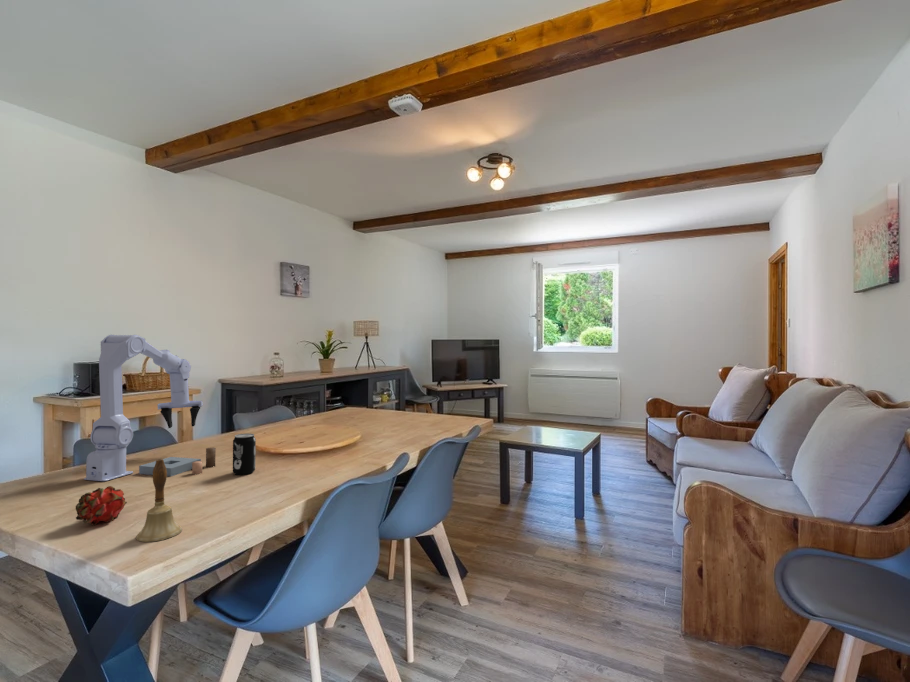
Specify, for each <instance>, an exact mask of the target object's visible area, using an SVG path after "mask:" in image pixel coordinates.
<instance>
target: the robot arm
mask: <svg viewBox="0 0 910 682" xmlns="http://www.w3.org/2000/svg"><path fill="white" fill-rule="evenodd" d="M140 354H142V355H143V356H145V357H148V358H150V359H152V362H153V363H154V364H155V365H156V366H159V367H160V368H161V369H164V370H165V372H166V374H168V375H169V386H170V402H169V401H168V402H163V403H162V402H160V403H158V404H157V410H160V411H159V412H160V415H162V417H163V418H164V420H165V422H166V424H167V428H168V429H172V427H173V419H172V417H173V415H172V410H173V409H182V408H189V412H190V419H191V420H190V421H191V423H190V424H191V427H195V426H196V420H197V417H198V414H199V411H200V409H201V407H203V406H204V402H203V400H190V391H189V378H190V372H191V369H192V365H191V363H190V361H188V360H187V359H186V358H180V357H179V356H178V355H177V354H176V355H175V354H173V353H171V351H170V349H158V348H157V347H155V346H153V345H152V344H150V343H149V342H148V341H146V338H145V337H142V336H140V334H108V335H106V337H104V338H103V339H102V340H101V341H100V355H99V357H98V369H99V370H98V371H99V373H98V375H99V395H100V396H99V398H100V401H99V402H100V417H99V418H98V419H96V420H95V421H94V422H93V423H92V429H91V432H90V441H91V443H92V445H94V448H95V451H91V452H89V453H88V455H87V456H86V460H85V461H86V463H85V464H86V466H85V467H86V468H85V469H86V470H85V476H86V477H83V480H86V481H96V482H107V481H110V480H113V479H118V478H120V477H125V476H127V475H130V474H131V475H132V474H133V473H134V471H133V470H131V471H130V470H127V447H128V446H129V444H130V443H132V440H133V438H134V431H133V428H132V427H131V420H129V419H128V418H127V416H125V415H124V405H123V404H124V403H123V402H124V401H123V400H124V398H123V397H124V396H123V379H122V378H123V373H122V368H123V367H122V365H123V364H124V363H126V362H127V361H128V360H131V359H132V358H134V357H136V356H137V355H140Z"/></svg>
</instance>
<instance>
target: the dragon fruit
mask: <svg viewBox="0 0 910 682" xmlns="http://www.w3.org/2000/svg"><path fill="white" fill-rule="evenodd" d="M124 496H125V493H124V491H123V489H121V488H118V489H116V488H115V487H114V486H112V485H108V486H106V487H105V488H102V487H98V488H97V489H95V490H92V492H91V491H89V492H85V494H82V495H81V496H80V498H79V499H78V503H77V504H76V505H75V511H76V514H77V516H75V519H76V520H78V521H82V522H83V524H89V525H92V526H95V525H97V524H99V522H104V523H107V522H109V523H110V522H112V521H114V519H117V518H118V517H119V515H120V513H121V511H122V510H124V507H125V506H126V504H128V502H127V501H126V499H125V497H124Z"/></svg>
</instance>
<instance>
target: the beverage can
mask: <svg viewBox="0 0 910 682" xmlns="http://www.w3.org/2000/svg"><path fill="white" fill-rule="evenodd" d="M256 442H257V441H256V437H255V434H254V433H238V434H234V438H233V440H232V473H233V474H235V476H247V475H250V474H253V473H254V472H255V470H256V457H257V456H256V450H257V445H256Z"/></svg>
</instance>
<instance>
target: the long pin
mask: <svg viewBox="0 0 910 682" xmlns="http://www.w3.org/2000/svg"><path fill="white" fill-rule="evenodd" d="M216 448H217V447H207V448H205V467H206V468H214V467H216V451H217V449H216ZM213 466H214V467H213Z"/></svg>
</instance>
